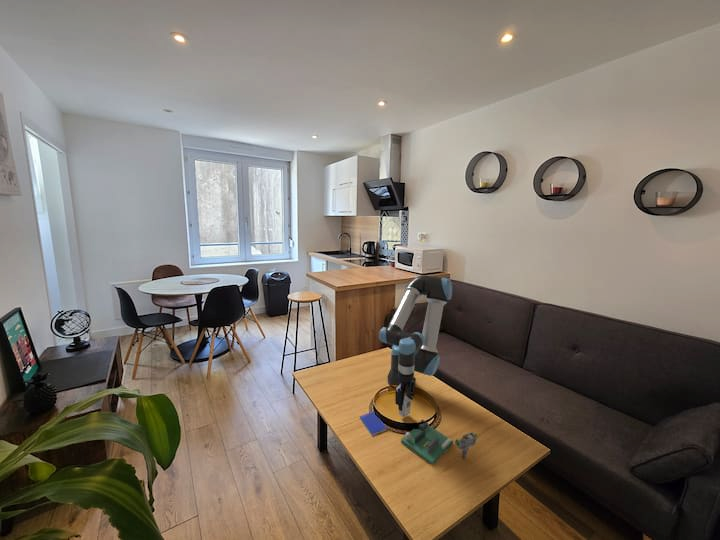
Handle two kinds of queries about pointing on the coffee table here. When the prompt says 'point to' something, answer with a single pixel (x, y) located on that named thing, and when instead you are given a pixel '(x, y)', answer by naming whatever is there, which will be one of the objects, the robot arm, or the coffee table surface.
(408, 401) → the plug
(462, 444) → the mechanical component
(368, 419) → the hard drive
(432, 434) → the board
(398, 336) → the robot arm
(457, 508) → the coffee table surface
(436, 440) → the header
